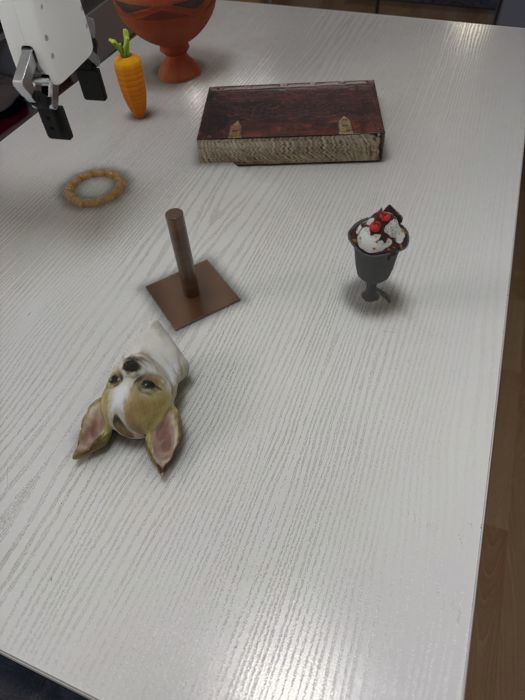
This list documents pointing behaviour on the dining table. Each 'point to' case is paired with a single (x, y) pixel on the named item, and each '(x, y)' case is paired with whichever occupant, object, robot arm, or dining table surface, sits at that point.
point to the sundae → (377, 248)
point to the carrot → (130, 77)
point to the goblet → (168, 31)
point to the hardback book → (292, 123)
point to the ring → (98, 201)
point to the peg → (189, 282)
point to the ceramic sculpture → (140, 399)
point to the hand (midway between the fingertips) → (79, 118)
